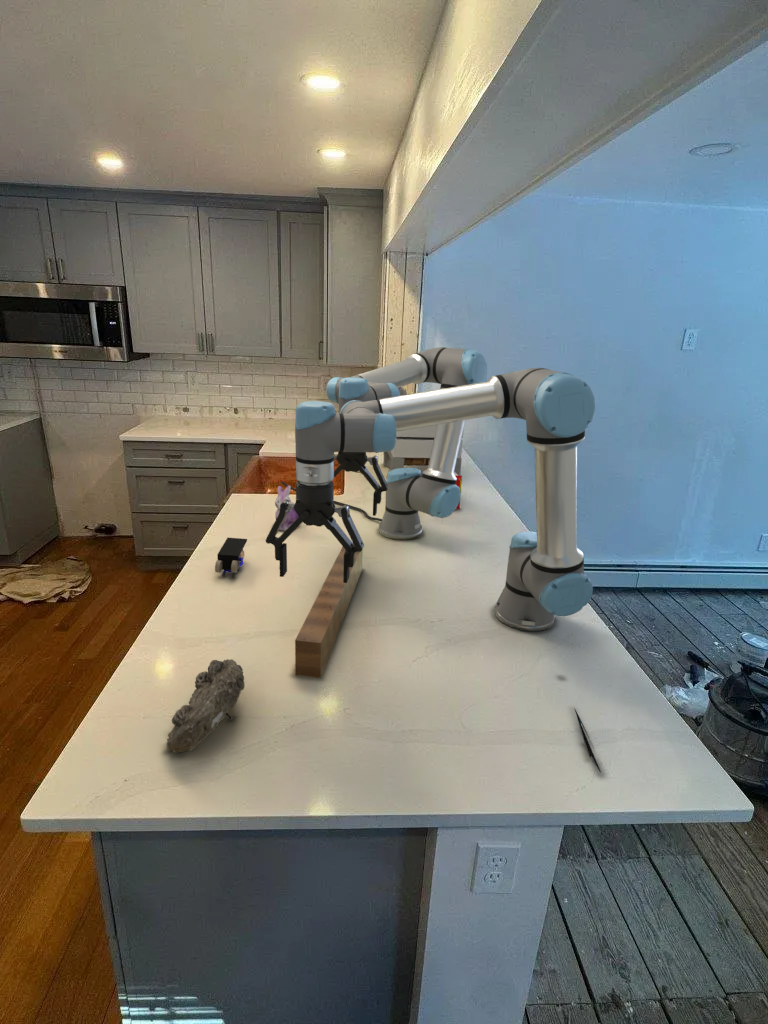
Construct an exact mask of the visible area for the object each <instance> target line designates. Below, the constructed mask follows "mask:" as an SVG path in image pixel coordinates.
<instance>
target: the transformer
mask: <svg viewBox="0 0 768 1024" xmlns="http://www.w3.org/2000/svg"><path fill="white" fill-rule="evenodd" d="M398 390H399V392H400V396H402V395H408V393H407V390H406V389H404V388H403V386H402V387H399V388H398ZM436 428H437V425H432V426H426V427H420V428H414V429H408V430H402V431H396V443H395V447H394V449H393V450H392V451H389V452H383V466H384V467H388V468H389V471H391V470H394V469H398V468H405V466H406V467H407V466H411V467H412V466H413V467H415V466H416V467H417V466H418V467H428V466H429V461H430V456H431V452H432V447H433V442H434V438H435V433H436ZM464 429H465V428H464ZM464 429H463V433H462V438H461V442H460V447H459V451H458V456H457V460H456V465H455V469H454V472H455V473H456V474H457V475H458V476H461V472H462V461H463V460H462V453H463V442H464V441H463V440H462V439H463V438H464V431H465V430H464Z"/></svg>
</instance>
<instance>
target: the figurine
mask: <svg viewBox="0 0 768 1024" xmlns="http://www.w3.org/2000/svg"><path fill="white" fill-rule="evenodd" d="M287 485H288V486H287V487H286V486H285V489H283V487H282V485H278V487H277V497H276V498H275V501H274V506H275V508H277V509H276V511H275V516H274V518H275V520H276V519H277V517H278V515H279V513H280V505H281V503H282V502H283V501H284V500H285V499H287V500H289V502H292V501H291V498H290V493H291V490H292V489H291V487H292V486H291V485H290V484H287ZM298 517H299V516H298V515H297V513H296V512H295V510H294V509H292V510H291V511H290V512H289V513H287V515H286V517H285V519H284V521H283V523H282V525H281V527H280V528H279V530H278V531H283V532H285V531H286V530H287V528H288V527H289V526H290V525H291V524H292V523H293V522H294V521H295V520H296V519H297V518H298Z"/></svg>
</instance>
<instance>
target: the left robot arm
mask: <svg viewBox="0 0 768 1024" xmlns="http://www.w3.org/2000/svg"><path fill="white" fill-rule="evenodd" d="M488 378H489V364H488V361H487V358H486V357H485V355H484V354H483V353H482V352H481V351H479V350H473V349H469V348H467V349H466V348H457V347H455V348H454V347H445V346H439V347H433V348H429V349H426V350H425V349H424V350H421V351H418V352H415V353H412V354H410V355H408V356H407V357H406V358H405V359H403V360H401V361H397V362H394V363H391V364H388V365H384V366H381V367H379V368H375V369H372V370H369V371H365V372H363V373H359V374H356V375H352V376H350V377H342V376H335V377H332V378H331V379H330V380H329V381H328V382H327V385H326V390H325V391H326V396H327V398H328V400H329V401H330V402H331V403H333V404H337V405H338V413H340V410H341V408H342V407H343V406H344V405H345V404H346V403H347V402H349V401H353V400H359V401H363V402H365V401H372V400H379V399H384V398H390V397H396V396H400V392H399V390H398V388H399V387H402V388H403V387H405V386H407V385H410V384H415V385H421V384H424V383H431V384H439V385H440V387H439V389H445V388H451V387H457V386H463V385H469V384H476V383H482V382H487V381H488ZM465 424H466V420H462V421H456V422H450V423H444V424H438V425H437V428H436V433H435V438H434V442H433V447H432V452H431V456H430V461H429V465H428V466H427V468H426V469H424V470H423V471H422V470H421V469H420V468H416V467H404V468H398V469H394V470H391V471H390V470H388V472H387V475H386V478H385V476H384V473H383V471H382V469H381V467H380V464H379V459H378V456H377V455H373V456H368V455H367V452H337V454H336V453H334V460H336V461H337V463H338V466H337V467H336V468H335V469H334V478H336V477H337V476H338V474H339V473H341V471H342V470H343V471H345V472H349V473H350V472H353V473H358V472H359V473H360V474H361V475H363V477H364V478H365V480H366V481H367V482H368V483H369V485H370V486H371V487H372V488H373V491H374V492H373V495H372V496H373V497H372V498H373V499H372V516H370V515H368V513H367V511H365V510H364V509H362V508H360V507H358V506H354V505H350V504H347V505H348V506H349V509H353V510H356V511H359V512H360V513H362V514H363V515H364V517H366V518H367V519H368V520H372V521H378V522H379V525H378V533H379V534H380V535H381V536H382V537H385V538H387V539H389V540H395V541H410V540H415V539H418V538H420V537H421V536H422V535H423V525H422V524H421V518H420V515H419V512H420V513H423V514H426V515H429V516H431V517H435V518H440V519H445V518H448V517H450V516H451V515H452V514H453V513H454V512H455V511H456V510H457V509H456V508H457V506H458V504H459V501H460V502H461V500H460V497H461V498H462V491H461V492H460V488H459V487H458V486H457V485H456V482H457V478H456V477H455V475H454V469H455V465H456V460H457V456H458V451H459V447H460V442H461V440H462V439H463V438H462V433H463V434H464V432H463V429H465ZM367 463H369V464H370V465H371V466H372V469H373V471H374V474H375V475H376V478H377V480H376V478H375V477H374V476H373V474H372V472H370V470H369V469H368V468H367V466H366V464H367ZM280 484H282V485H284V486H285V488H286V487H287V486H288V485H289V484H288V483H286V482H285V481H283V480H281V481H280ZM291 490H292V491H294V492H296V487H295V488H294V487H293V486H291ZM383 492H385V504H384V505H385V507H384V508H385V509H384V513H383V515H382V518H380V517H376V515H377V513H378V505H380V504H381V502H382V493H383ZM345 504H346V503H345V502H340V501H337V500H334V505H338V506H344V505H345ZM373 516H374V517H373Z"/></svg>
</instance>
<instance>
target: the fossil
mask: <svg viewBox="0 0 768 1024" xmlns="http://www.w3.org/2000/svg"><path fill="white" fill-rule="evenodd" d="M243 670H244V669H243V667H242V665H240V664H237V662H236V661H235V660H234V659H232V658H231V659H227V658H226V659H224V660H223V661H222V660H217V659H212V660H211V661H210V663H209V665H208V666H207V671H201V672H199V673H198V674H197V675H196V676H195V680H194V684H195V685H194V687H195V689H194V690H193V693H192V694H191V697H190V698H189V700H188V704H184V705H182V706H181V707H180V709H177V710H176V711H175V713H174V715H173V716H172V718H171V723H172V724H173V727H172V730H171V731H170V732H168V734H167V738H166V741H167V742H166V745H167V749H168V750H169V751H173V752H174V753H176V754H178V753H182V752H188V751H189V752H192V751H193V750H195V748H196V747H197V746H199V744H200V743H201V742H203V741H204V740H205V739H206V738H207V737H208V736H209V735H210V734H211V733H212V732H214V730H215V729H217V727H218V726H219V724H220V722H221V721H222V720H223V719H224V718H225V716H226V717H227V719H229V720H233V717H232V715H230V714H229V710H230V709H231V708H234V706H235V704H236V703H237V702H238V699H239V697H240V695H241V693H242V691H243V690H245V689H244V688H245V675H244V671H243Z"/></svg>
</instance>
